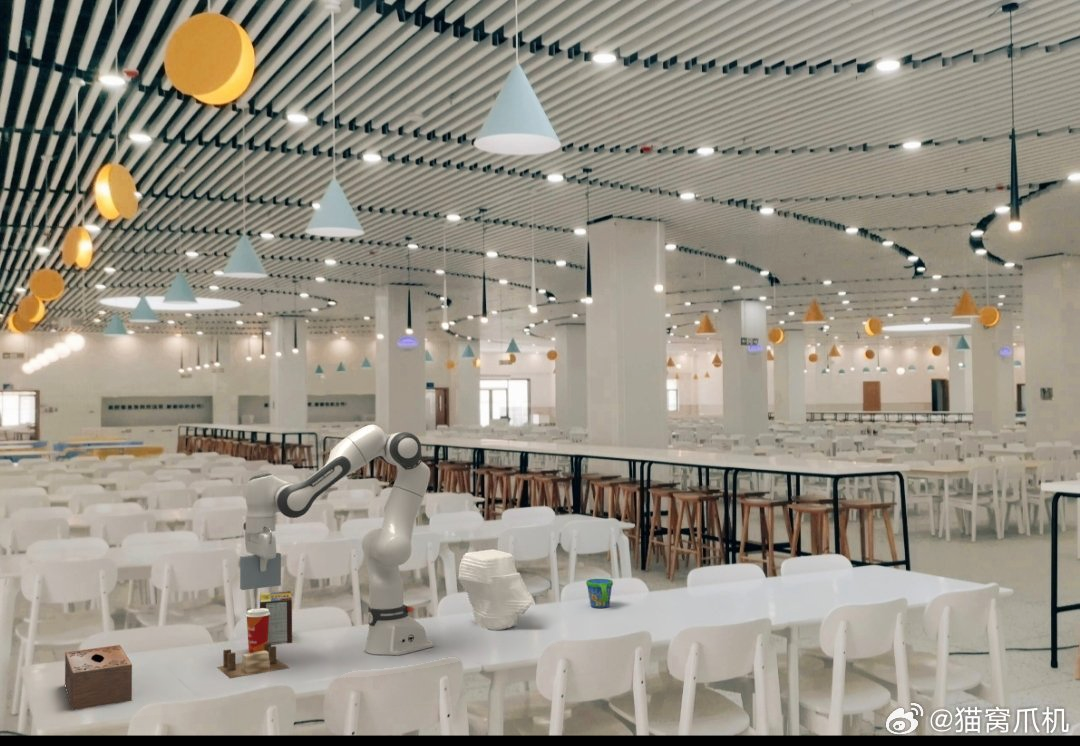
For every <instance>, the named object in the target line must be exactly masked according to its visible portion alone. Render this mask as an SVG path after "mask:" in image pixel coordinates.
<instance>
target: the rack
mask: <svg viewBox="0 0 1080 746" xmlns="http://www.w3.org/2000/svg"><path fill="white" fill-rule="evenodd" d="M222 651H223V655H222V657H223V658H222V659H223V660H222V663H223V665H219V666H217V667H216V668H217V669H218V670H220V672H222V673H223V674H224V675H225V676H226V677H228V679H235V678H240V677H248V676H252V675H259V674H265V673H271V672H276V671H282V670H286V669H291V667H290V666H288V665H286V664H285V663H284V662H282V661H281V660H280V659H278V658H277V646H276V645H271V643H267V644H264V651H267V652H269V661H270V669H268V670H262V671H256V672H250V673H246V672H244V664H243V663H242V662H238V663H236V659H237V658H236V655H237V654H236V652H232V649H231V648H230V649H229V648H228V649H223V650H222Z"/></svg>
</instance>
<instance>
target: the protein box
mask: <svg viewBox="0 0 1080 746" xmlns="http://www.w3.org/2000/svg"><path fill="white" fill-rule="evenodd" d="M260 608H265V609H269V612H270V615H269V628H268V643H271V646H276V645H284V644H293V597H292V593H291V591H288V590H287V591H278V592H276V591H275V592H263V593H262V592H261V593H259V609H260Z"/></svg>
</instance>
